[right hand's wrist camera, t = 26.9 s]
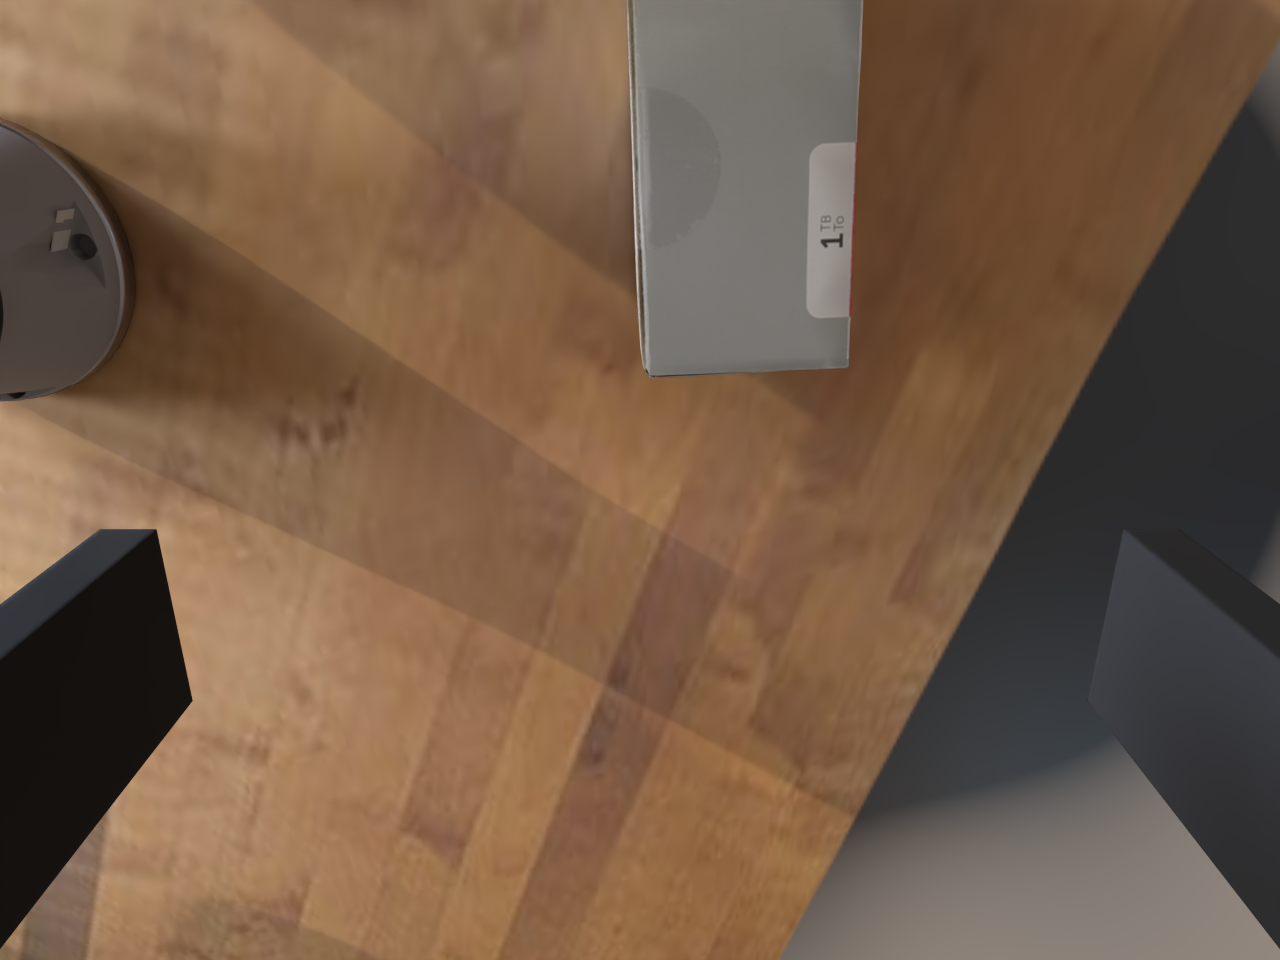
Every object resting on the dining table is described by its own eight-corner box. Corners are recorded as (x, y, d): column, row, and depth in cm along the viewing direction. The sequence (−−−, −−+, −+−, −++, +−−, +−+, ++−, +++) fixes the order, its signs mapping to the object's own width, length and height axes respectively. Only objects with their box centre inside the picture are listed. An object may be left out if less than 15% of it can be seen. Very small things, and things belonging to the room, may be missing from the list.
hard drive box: (773, 287, 51) (849, 380, 33) (636, 292, 51) (635, 388, 33) (778, -27, 46) (873, -131, 27) (624, -21, 46) (614, -120, 27)
